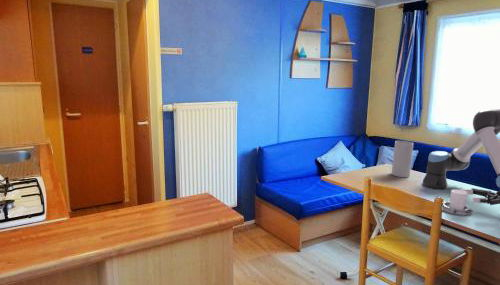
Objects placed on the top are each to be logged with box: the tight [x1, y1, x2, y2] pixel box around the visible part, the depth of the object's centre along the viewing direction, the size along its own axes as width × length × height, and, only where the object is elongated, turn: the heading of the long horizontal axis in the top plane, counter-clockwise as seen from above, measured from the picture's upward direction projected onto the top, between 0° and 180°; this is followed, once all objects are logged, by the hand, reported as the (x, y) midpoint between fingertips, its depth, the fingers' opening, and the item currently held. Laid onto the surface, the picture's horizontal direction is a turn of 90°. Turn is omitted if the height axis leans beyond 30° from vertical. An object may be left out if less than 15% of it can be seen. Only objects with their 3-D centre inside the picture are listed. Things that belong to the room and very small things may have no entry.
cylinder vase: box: [391, 140, 414, 178], centre depth 265 cm, size 12×12×25 cm
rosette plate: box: [442, 200, 474, 217], centre depth 201 cm, size 16×16×3 cm
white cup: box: [449, 189, 469, 210], centre depth 199 cm, size 8×8×10 cm
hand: (466, 195), depth 199 cm, fingers open, 13 cm apart
